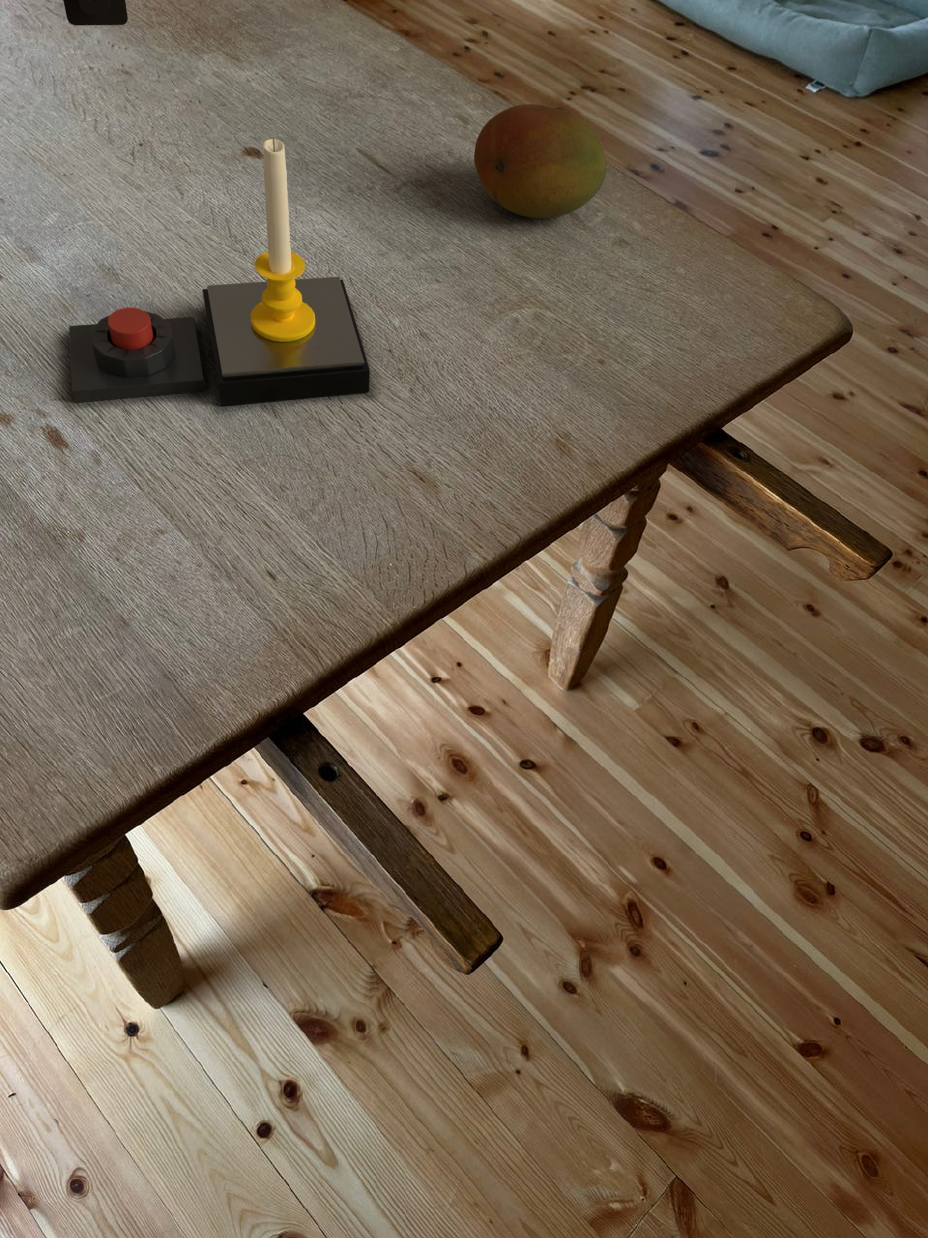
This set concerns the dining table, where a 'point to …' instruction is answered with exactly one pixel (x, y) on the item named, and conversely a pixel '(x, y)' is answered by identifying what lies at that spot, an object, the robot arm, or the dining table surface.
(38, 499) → the dining table surface
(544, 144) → the fruit
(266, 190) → the candle
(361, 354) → the scale
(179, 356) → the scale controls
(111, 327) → the button
